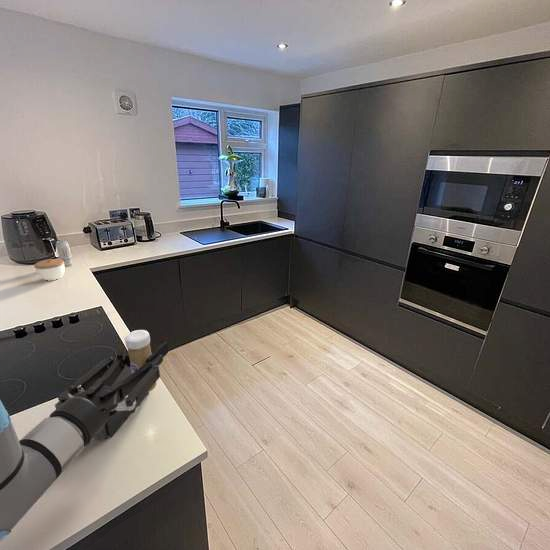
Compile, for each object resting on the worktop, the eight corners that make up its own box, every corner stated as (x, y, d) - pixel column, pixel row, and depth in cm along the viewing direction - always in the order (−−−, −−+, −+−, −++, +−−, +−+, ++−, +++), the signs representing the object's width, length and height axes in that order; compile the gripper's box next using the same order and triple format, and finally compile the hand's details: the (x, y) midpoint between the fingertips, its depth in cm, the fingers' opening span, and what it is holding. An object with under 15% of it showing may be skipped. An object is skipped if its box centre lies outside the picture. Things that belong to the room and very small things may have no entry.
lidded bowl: (38, 285, 147) (32, 264, 143) (39, 277, 157) (33, 258, 153) (68, 279, 154) (63, 260, 150) (67, 272, 164) (62, 254, 160)
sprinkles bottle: (130, 393, 61) (119, 340, 56) (141, 378, 66) (132, 328, 61) (150, 395, 61) (142, 342, 56) (160, 380, 65) (153, 329, 60)
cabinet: (111, 437, 68) (103, 407, 65) (67, 426, 71) (57, 396, 67) (149, 393, 81) (144, 365, 78) (111, 385, 84) (104, 358, 80)
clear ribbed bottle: (64, 267, 171) (58, 243, 166) (59, 265, 174) (53, 241, 168) (75, 264, 176) (69, 241, 170) (70, 262, 179) (64, 239, 173)
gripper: (28, 438, 47) (126, 352, 69) (118, 462, 44) (192, 365, 65) (14, 403, 45) (120, 325, 66) (109, 427, 41) (189, 337, 62)
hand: (156, 345), depth 66 cm, fingers closed on sprinkles bottle, 4 cm apart
